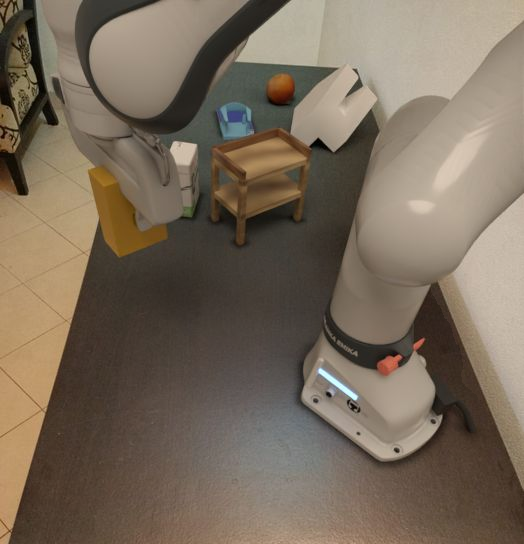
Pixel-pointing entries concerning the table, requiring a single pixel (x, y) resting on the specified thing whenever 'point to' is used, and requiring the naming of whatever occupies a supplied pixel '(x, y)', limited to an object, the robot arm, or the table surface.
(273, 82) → the fruit
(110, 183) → the yellow block
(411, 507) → the table surface
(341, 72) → the slotted wedge
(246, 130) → the chair
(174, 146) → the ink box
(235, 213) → the rack
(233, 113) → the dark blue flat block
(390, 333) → the robot arm
